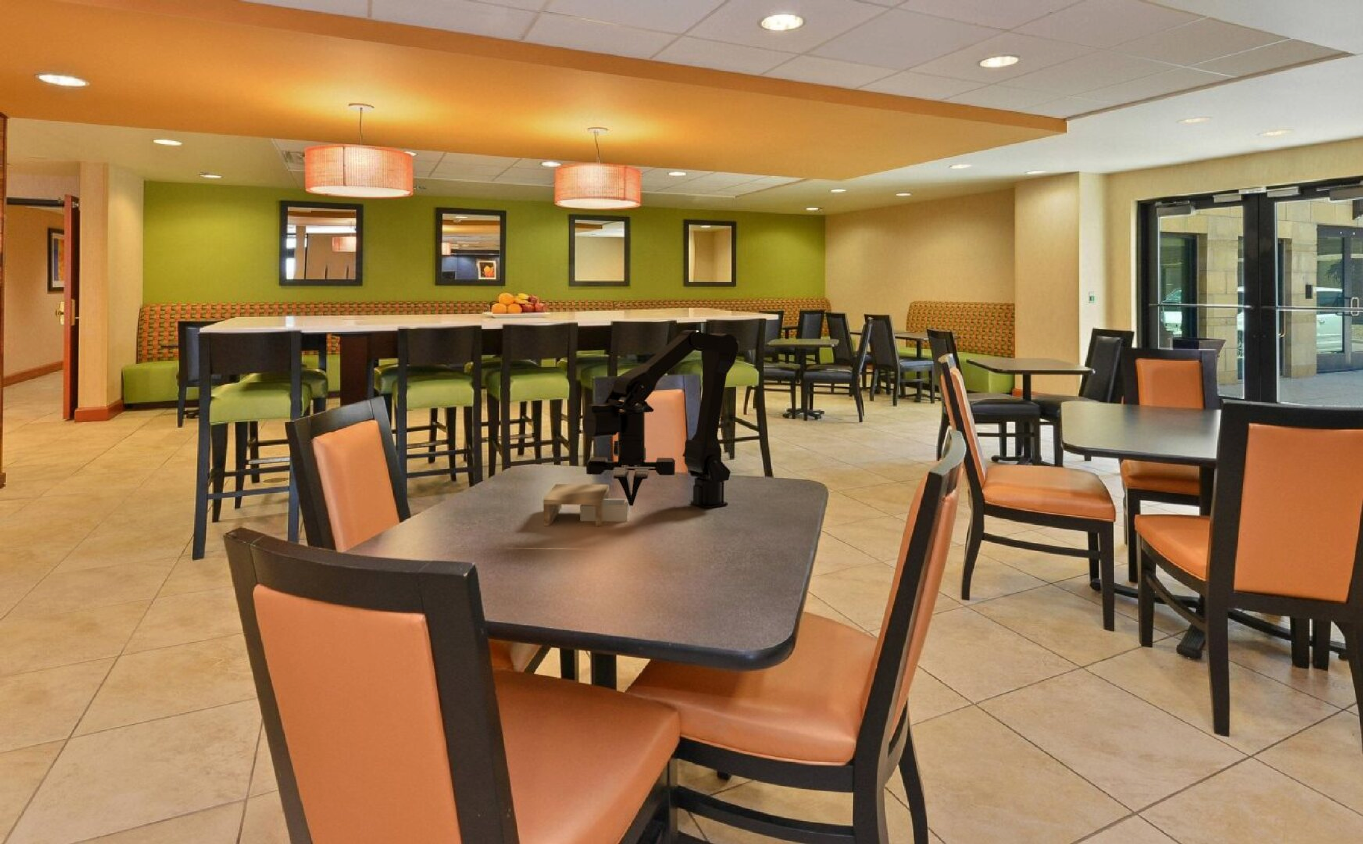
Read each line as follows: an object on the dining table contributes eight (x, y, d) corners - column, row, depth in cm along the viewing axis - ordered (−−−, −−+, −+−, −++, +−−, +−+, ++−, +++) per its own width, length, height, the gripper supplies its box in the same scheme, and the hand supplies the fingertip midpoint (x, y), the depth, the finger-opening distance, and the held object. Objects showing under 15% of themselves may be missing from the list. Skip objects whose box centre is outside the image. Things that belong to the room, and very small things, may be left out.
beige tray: (629, 514, 171) (629, 498, 170) (627, 522, 164) (627, 506, 164) (584, 514, 171) (584, 498, 170) (580, 521, 164) (580, 505, 164)
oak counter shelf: (609, 508, 175) (609, 484, 174) (601, 526, 160) (601, 500, 159) (556, 507, 175) (555, 484, 174) (543, 525, 160) (543, 499, 160)
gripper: (675, 428, 172) (675, 497, 175) (592, 428, 173) (593, 496, 175) (674, 436, 161) (674, 509, 164) (585, 435, 162) (586, 508, 164)
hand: (631, 505), depth 167 cm, fingers closed
